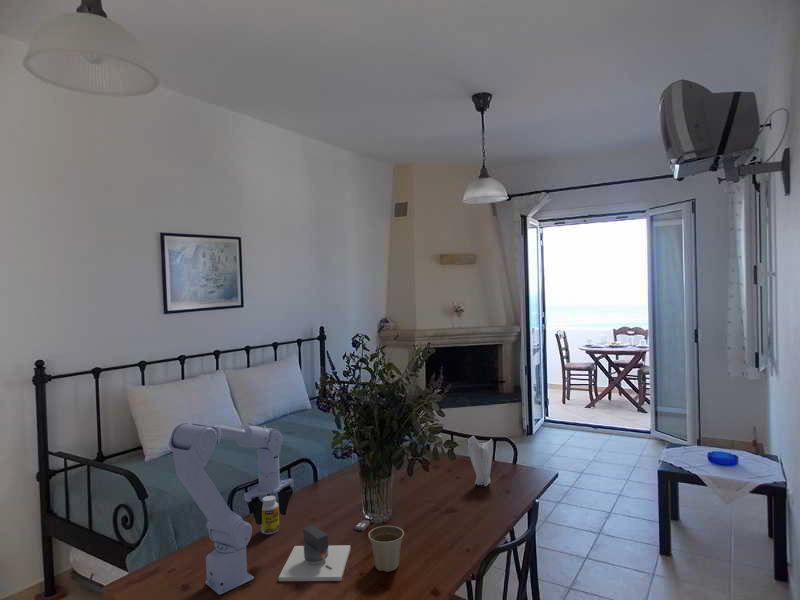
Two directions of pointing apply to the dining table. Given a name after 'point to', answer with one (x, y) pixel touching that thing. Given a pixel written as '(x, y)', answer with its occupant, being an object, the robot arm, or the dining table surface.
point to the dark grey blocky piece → (315, 544)
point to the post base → (316, 565)
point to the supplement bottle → (270, 515)
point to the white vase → (481, 459)
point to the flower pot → (386, 547)
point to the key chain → (362, 525)
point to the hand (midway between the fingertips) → (271, 518)
